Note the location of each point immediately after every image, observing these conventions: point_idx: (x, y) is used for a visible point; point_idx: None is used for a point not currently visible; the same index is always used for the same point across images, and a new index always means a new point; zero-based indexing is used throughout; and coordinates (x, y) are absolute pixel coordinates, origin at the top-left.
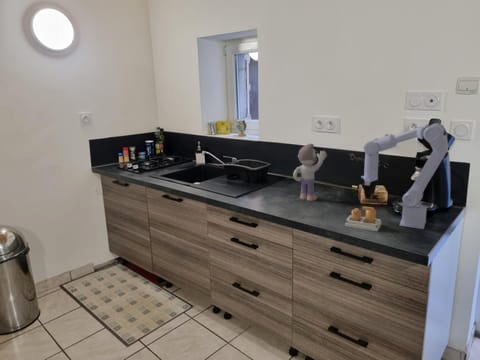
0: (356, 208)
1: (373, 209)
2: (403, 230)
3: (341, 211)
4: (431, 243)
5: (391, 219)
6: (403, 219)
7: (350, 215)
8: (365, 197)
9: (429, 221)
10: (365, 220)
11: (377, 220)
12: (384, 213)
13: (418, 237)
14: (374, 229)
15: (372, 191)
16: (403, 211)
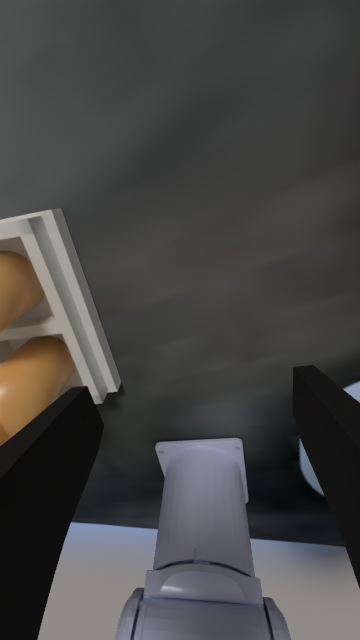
0: None
1: (4, 440)
2: (120, 456)
3: (196, 21)
4: (77, 518)
5: (222, 401)
6: (171, 475)
7: (21, 225)
8: (60, 400)
9: (276, 504)
10: (19, 348)
11: (89, 388)
12: (306, 352)
13: (93, 494)
14: None
15: (309, 435)
16: (170, 519)
